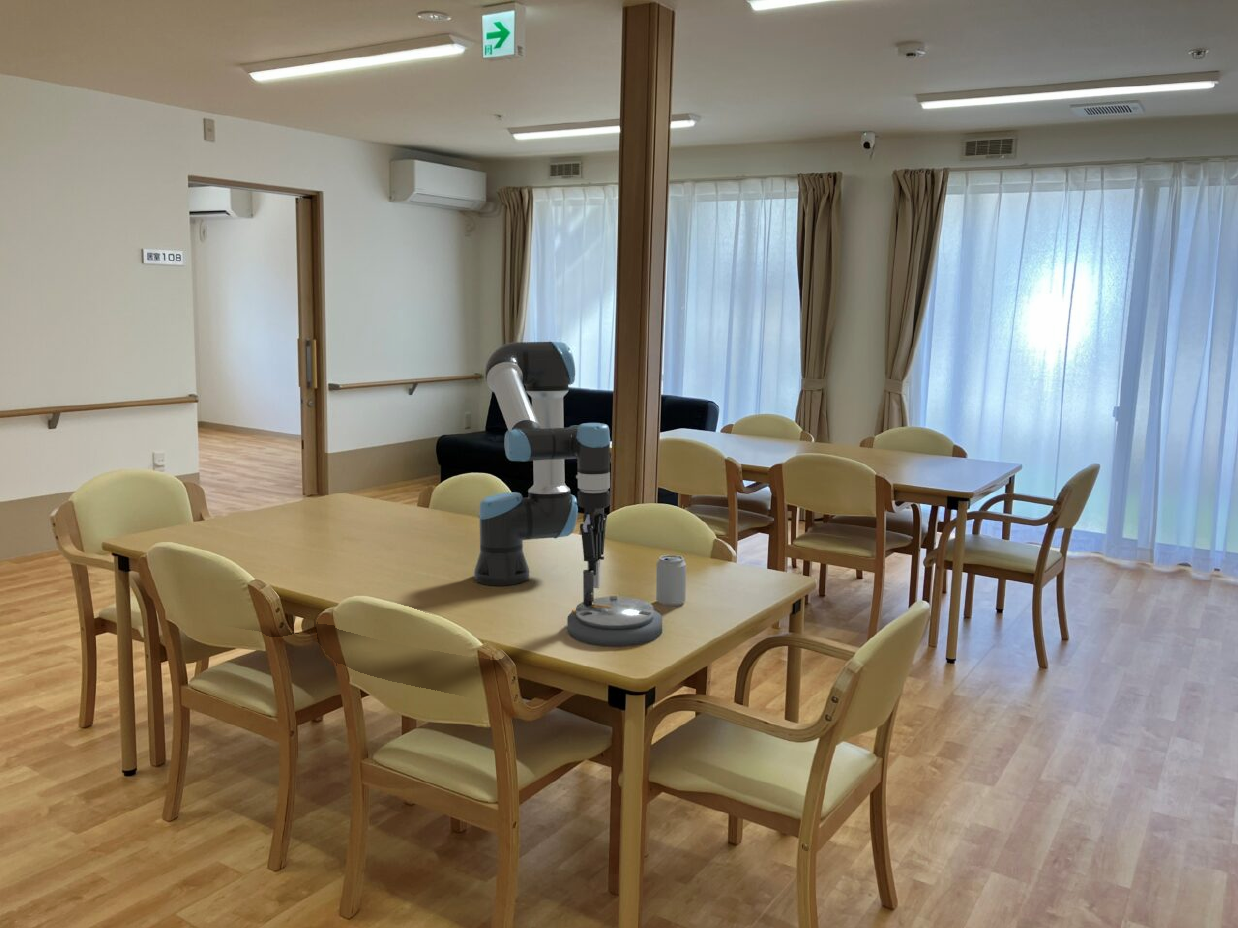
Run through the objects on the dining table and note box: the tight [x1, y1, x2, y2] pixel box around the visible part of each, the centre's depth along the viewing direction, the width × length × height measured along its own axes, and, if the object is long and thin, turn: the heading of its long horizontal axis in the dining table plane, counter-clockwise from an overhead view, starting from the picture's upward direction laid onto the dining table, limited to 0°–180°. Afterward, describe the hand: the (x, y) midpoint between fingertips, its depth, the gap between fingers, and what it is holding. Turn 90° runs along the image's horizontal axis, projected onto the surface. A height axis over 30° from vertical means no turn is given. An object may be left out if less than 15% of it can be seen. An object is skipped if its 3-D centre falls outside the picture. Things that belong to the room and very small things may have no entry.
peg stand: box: [575, 569, 655, 629], centre depth 223 cm, size 18×18×10 cm
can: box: [655, 554, 687, 607], centre depth 245 cm, size 8×8×12 cm
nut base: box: [566, 608, 663, 648], centre depth 224 cm, size 22×22×4 cm
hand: (594, 587), depth 230 cm, fingers closed
